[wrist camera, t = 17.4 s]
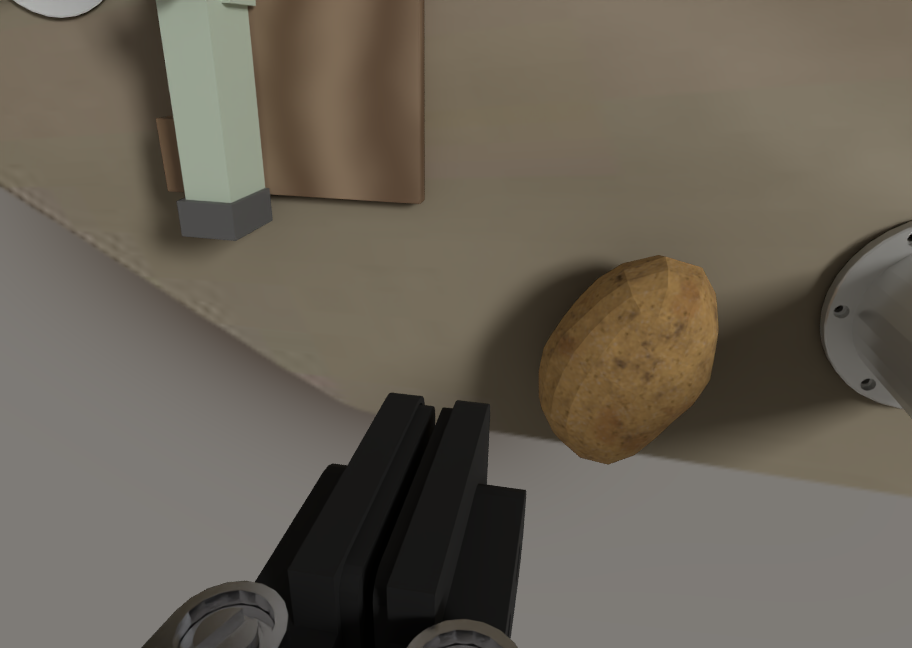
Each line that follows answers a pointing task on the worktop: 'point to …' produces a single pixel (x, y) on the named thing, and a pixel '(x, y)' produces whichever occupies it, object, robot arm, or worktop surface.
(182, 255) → the worktop surface
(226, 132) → the leg
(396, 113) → the stool seat
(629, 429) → the potato
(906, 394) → the robot arm
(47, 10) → the purple spotted dome
